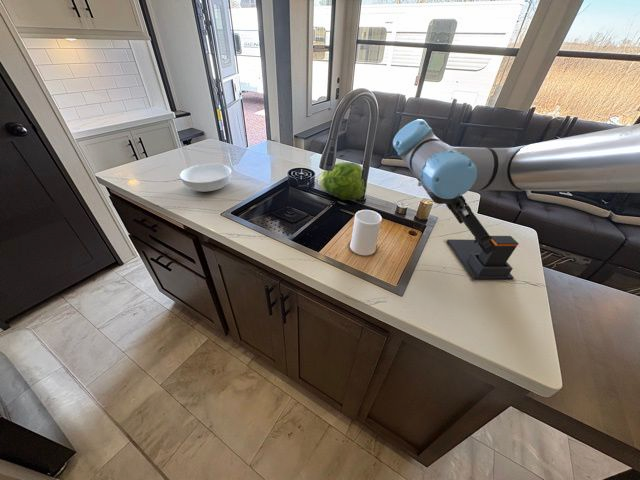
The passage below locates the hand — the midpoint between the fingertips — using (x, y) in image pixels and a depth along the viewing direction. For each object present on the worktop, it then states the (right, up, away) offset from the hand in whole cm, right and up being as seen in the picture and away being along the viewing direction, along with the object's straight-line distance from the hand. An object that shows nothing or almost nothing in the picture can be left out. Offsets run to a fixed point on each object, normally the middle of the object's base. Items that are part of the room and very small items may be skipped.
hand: (476, 234), depth 69 cm
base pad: (+8, -8, +13) cm, 17 cm away
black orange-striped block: (+8, -10, +8) cm, 15 cm away
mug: (-28, -3, +17) cm, 33 cm away
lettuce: (-33, +18, +43) cm, 57 cm away
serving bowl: (-92, +22, +45) cm, 105 cm away
